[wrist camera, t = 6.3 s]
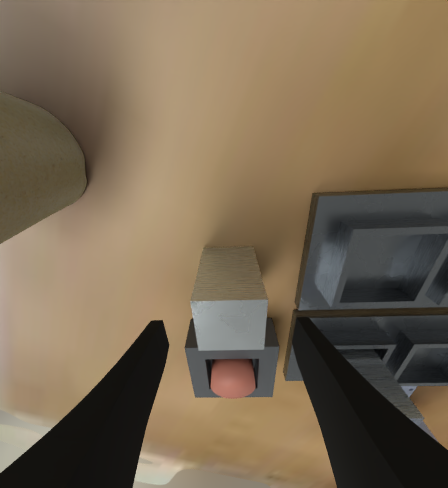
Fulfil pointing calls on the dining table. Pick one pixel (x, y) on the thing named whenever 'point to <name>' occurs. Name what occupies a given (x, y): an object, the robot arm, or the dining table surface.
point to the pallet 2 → (385, 340)
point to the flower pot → (35, 166)
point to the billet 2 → (382, 380)
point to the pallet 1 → (375, 250)
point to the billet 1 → (229, 300)
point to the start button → (232, 377)
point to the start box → (261, 358)
